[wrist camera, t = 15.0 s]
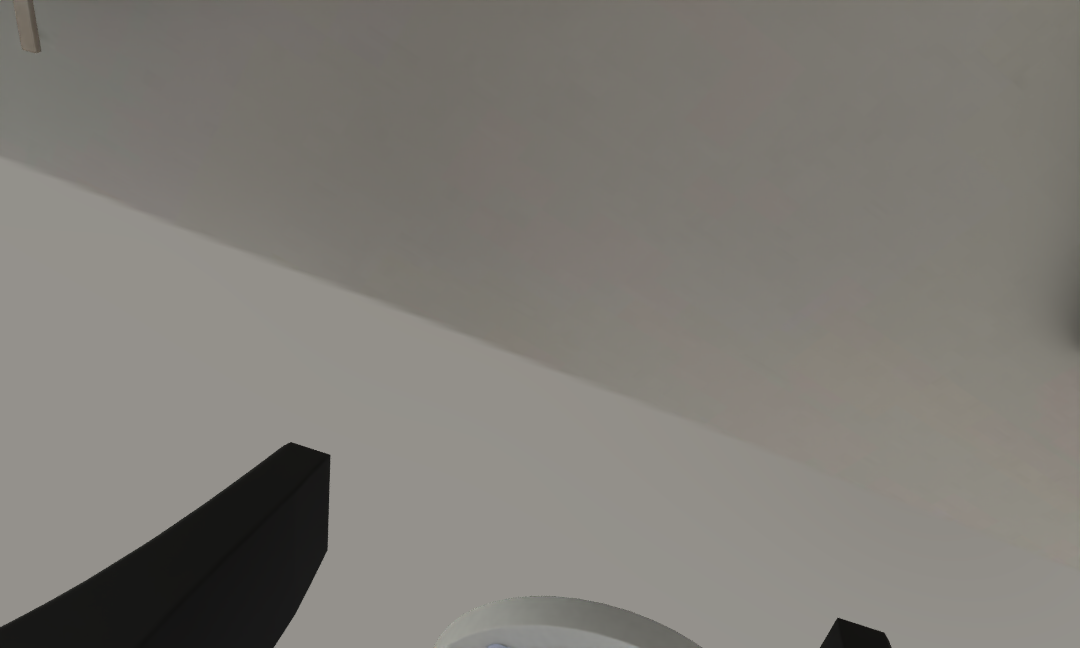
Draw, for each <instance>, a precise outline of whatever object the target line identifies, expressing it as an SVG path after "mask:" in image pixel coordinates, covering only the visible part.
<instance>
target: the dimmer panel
mask: <svg viewBox="0 0 1080 648" xmlns="http://www.w3.org/2000/svg"><path fill="white" fill-rule="evenodd" d="M13 4H14V9H15V15H16V20H17V25H18V31H19V36H20V42H21V47H22V50H26V51H29V52H33V53H39V52H41V46H40V40H39V34H38V29H37V23H36V17H35V11H34V5H33V0H13Z"/></svg>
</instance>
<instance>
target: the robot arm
mask: <svg viewBox="0 0 1080 648" xmlns="http://www.w3.org/2000/svg"><path fill="white" fill-rule="evenodd" d="M329 481H330V455H329V454H326V453H323V452H320V451H317V450H314V449H310V448H307V447H304V446H301V445H298V444H295V443H292V442H290V443H288V444H286V445H284V446H283V447H281V448H280V449H279V450H277V451H276V452H275V453H273V454H272V455H271V456H269V457H268V458H267V459H265V460H264V461H263V462H261V463H260V464H259V465H257V466H256V467H254V468H253V469H252V470H250V471H249V472H248V473H246V474H245V475H244V476H242V477H241V478H240V479H238V480H237V481H236V482H234V483H233V484H231V485H230V486H229V487H227V488H226V489H224V490H223V491H222V492H220V493H219V494H217V495H216V496H215V497H213V498H212V499H210V501H208V502H206V503H205V504H204V505H202V506H201V507H199V508H198V509H196V510H195V511H193V512H192V513H190V514H189V515H187V516H186V517H184V518H183V519H181V520H180V521H179V522H177V523H176V524H174V525H173V526H171V527H170V528H168V529H167V530H166V531H164V532H162V533H161V534H160V535H158V536H156V537H155V538H154V539H152V540H150V541H149V542H147V543H146V544H144V545H143V546H141V547H139V548H138V549H136V550H135V551H133V552H132V553H130V554H128V555H127V556H125V557H123V558H122V559H120V560H119V561H117V562H115V563H114V564H112V565H111V566H109V567H108V568H106V569H104V570H102V571H101V572H99V573H98V574H96V575H94V576H93V577H91V578H89V579H88V580H86V581H84V582H83V583H81V584H79V585H77V586H76V587H74V588H72V589H70V590H69V591H67V592H65V593H63V594H62V595H60V596H58V597H56V598H54V599H53V600H51V601H49V602H47V603H45V604H44V605H42V606H40V607H38V608H36V609H34V610H32V611H30V612H29V613H27V614H25V615H23V616H21V617H19V618H17V619H15V620H13V621H12V622H10V623H8V624H6V625H4V626H2V627H0V648H274V646H275V645H276V643H277V642H278V640H279V638H280V637H281V635H282V634H283V632H284V631H285V629H286V628H287V626H288V625H289V623H290V621H291V620H292V618H293V617H294V615H295V613H296V612H297V610H298V608H299V605H300V604H301V602H302V600H303V598H304V596H305V594H306V592H307V590H308V588H309V586H310V584H311V582H312V580H313V578H314V576H315V574H316V572H317V570H318V568H319V566H320V564H321V562H322V560H323V558H324V556H325V554H326V552H327V547H328V515H329ZM487 648H510V647H507V646H504V645H501V644H492V645H490V646H488V647H487ZM820 648H891V645H890V643H889V640H888V638H887V637H886V635H885V633H884V632H881V631H877V630H874V629H871V628H868V627H865V626H862V625H859V624H856V623H852V622H849V621H846V620H843V619H840V618H837V620H836V621H835V623H834V625H833V626H832V628H831V630H830V632H829V633H828V635H827V637H826V639H825V640H824V642H823V644H822V645H821V647H820Z"/></svg>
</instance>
